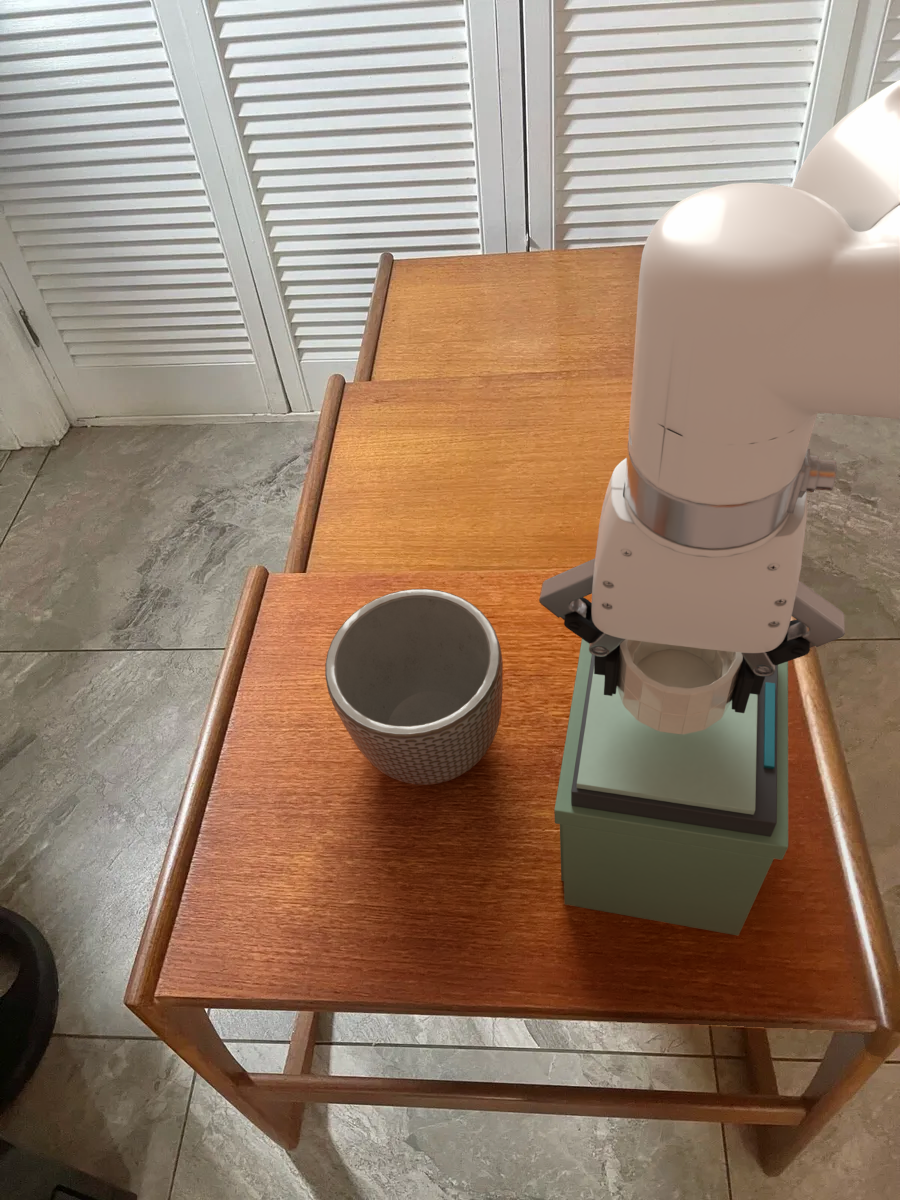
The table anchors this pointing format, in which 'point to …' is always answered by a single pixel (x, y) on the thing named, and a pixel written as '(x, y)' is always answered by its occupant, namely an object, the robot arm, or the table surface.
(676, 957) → the table surface
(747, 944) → the table surface
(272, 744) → the table surface
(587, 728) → the scale
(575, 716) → the stand
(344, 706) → the planter
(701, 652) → the bowl
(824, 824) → the table surface
